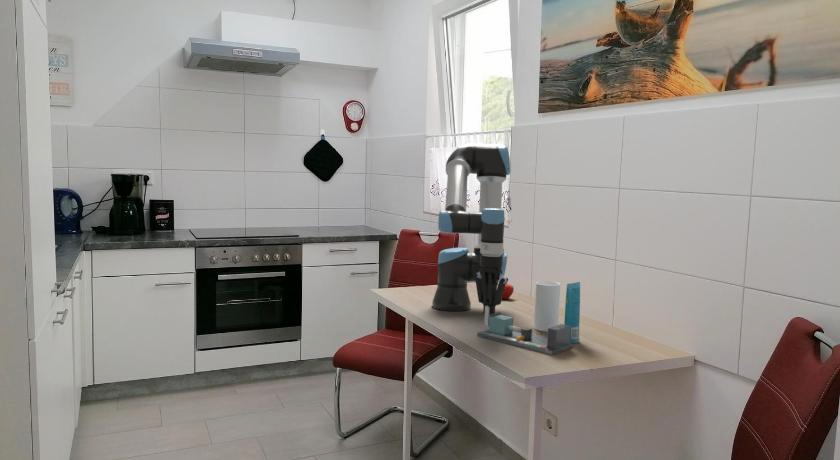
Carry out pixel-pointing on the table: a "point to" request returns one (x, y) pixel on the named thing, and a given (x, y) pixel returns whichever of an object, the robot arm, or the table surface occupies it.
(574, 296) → the tube
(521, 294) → the table surface
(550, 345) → the rail base
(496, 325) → the block
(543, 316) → the cup
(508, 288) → the apple
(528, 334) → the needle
